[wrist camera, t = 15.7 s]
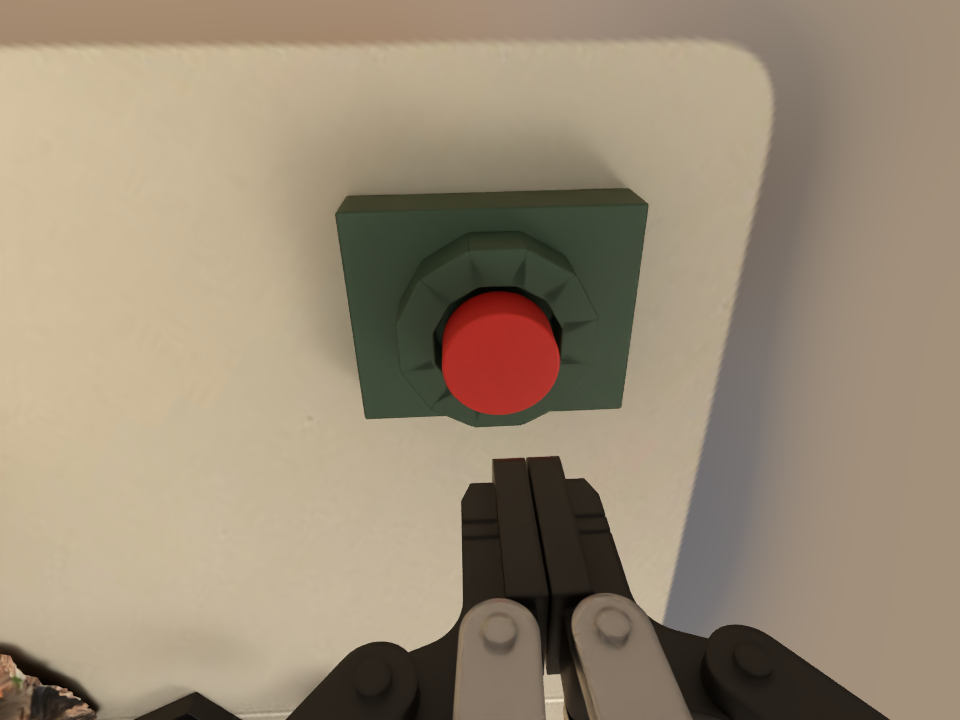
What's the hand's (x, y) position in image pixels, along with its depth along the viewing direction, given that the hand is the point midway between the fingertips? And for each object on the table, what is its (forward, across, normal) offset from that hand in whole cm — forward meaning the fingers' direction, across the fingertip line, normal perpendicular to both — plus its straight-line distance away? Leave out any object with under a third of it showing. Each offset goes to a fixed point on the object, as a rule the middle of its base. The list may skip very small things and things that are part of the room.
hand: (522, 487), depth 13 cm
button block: (+10, 0, 0) cm, 10 cm away
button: (+7, 0, 0) cm, 7 cm away
